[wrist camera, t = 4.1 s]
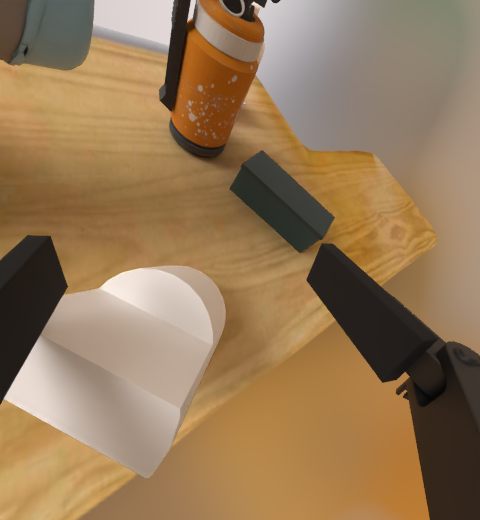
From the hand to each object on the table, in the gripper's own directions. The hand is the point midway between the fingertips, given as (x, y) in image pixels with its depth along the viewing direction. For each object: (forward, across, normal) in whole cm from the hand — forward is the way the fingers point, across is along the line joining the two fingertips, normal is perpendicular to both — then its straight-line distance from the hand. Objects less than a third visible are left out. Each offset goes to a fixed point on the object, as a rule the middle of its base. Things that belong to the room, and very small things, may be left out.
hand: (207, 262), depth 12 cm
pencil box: (+22, +14, -6) cm, 27 cm away
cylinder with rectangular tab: (+5, -1, -10) cm, 11 cm away
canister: (+32, +1, +2) cm, 32 cm away
